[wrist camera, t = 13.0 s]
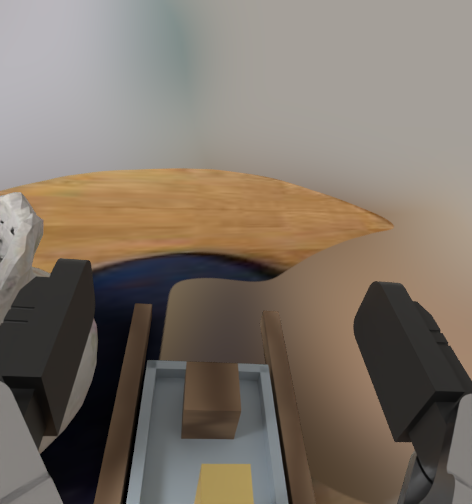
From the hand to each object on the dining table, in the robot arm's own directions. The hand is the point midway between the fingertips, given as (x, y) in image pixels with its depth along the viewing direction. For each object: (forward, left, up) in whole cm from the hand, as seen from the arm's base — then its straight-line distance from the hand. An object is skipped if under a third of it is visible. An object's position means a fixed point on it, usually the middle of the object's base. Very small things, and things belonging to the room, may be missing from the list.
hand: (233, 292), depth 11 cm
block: (+2, +13, -29) cm, 31 cm away
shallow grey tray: (+2, +9, -30) cm, 31 cm away
